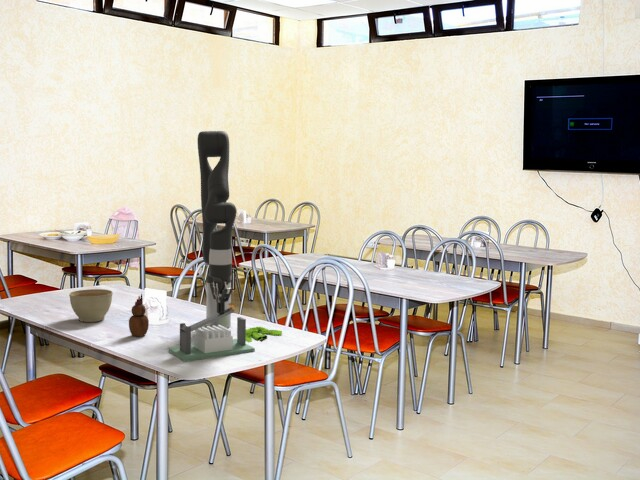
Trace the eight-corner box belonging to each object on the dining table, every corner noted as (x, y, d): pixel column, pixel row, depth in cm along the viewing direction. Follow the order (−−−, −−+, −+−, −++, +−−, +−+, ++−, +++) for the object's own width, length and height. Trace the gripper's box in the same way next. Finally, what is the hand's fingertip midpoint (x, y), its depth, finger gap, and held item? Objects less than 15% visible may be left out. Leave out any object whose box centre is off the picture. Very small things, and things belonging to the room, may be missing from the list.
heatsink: (168, 350, 236) (168, 321, 235) (236, 341, 250) (236, 313, 249) (184, 361, 225) (184, 330, 223) (254, 351, 238) (255, 322, 237)
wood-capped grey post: (186, 334, 230) (183, 327, 229) (182, 332, 232) (180, 325, 232) (235, 311, 239) (233, 304, 238) (231, 309, 241) (229, 303, 241)
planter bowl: (117, 315, 285) (117, 288, 284) (106, 325, 269) (106, 297, 268) (77, 314, 285) (76, 288, 284) (63, 324, 269) (63, 296, 268)
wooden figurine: (142, 332, 259) (142, 292, 258) (151, 335, 255) (151, 294, 254) (126, 335, 255) (125, 294, 253) (134, 338, 251) (134, 297, 249)
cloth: (257, 327, 274) (257, 321, 273) (302, 336, 261) (302, 330, 261) (220, 338, 257) (220, 331, 257) (267, 348, 244) (267, 341, 244)
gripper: (239, 264, 232) (239, 315, 234) (222, 258, 243) (222, 308, 245) (218, 265, 228) (218, 318, 230) (202, 260, 239) (202, 310, 241)
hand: (220, 313), depth 237 cm, fingers closed
